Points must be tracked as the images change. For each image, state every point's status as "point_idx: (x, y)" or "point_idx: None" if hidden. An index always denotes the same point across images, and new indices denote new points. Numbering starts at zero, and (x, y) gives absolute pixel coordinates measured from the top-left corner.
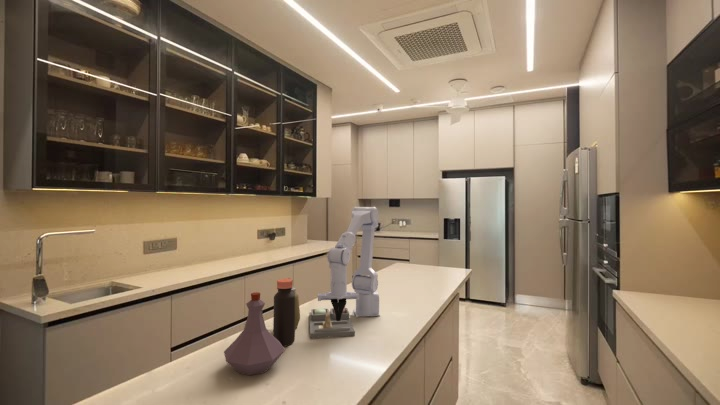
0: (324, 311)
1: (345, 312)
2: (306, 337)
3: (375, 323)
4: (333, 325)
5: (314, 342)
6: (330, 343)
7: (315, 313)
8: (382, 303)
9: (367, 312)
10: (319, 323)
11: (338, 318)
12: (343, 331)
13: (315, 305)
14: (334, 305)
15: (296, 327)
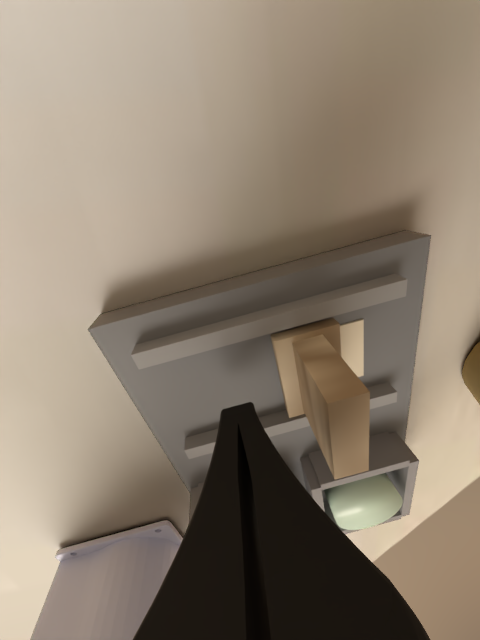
0: (345, 507)
1: None
2: None
3: (40, 485)
4: (268, 394)
5: (382, 152)
6: (255, 141)
7: (391, 483)
8: None
9: (111, 558)
10: None
11: (238, 419)
12: (178, 313)
13: None
14: (341, 577)
15: (475, 355)
